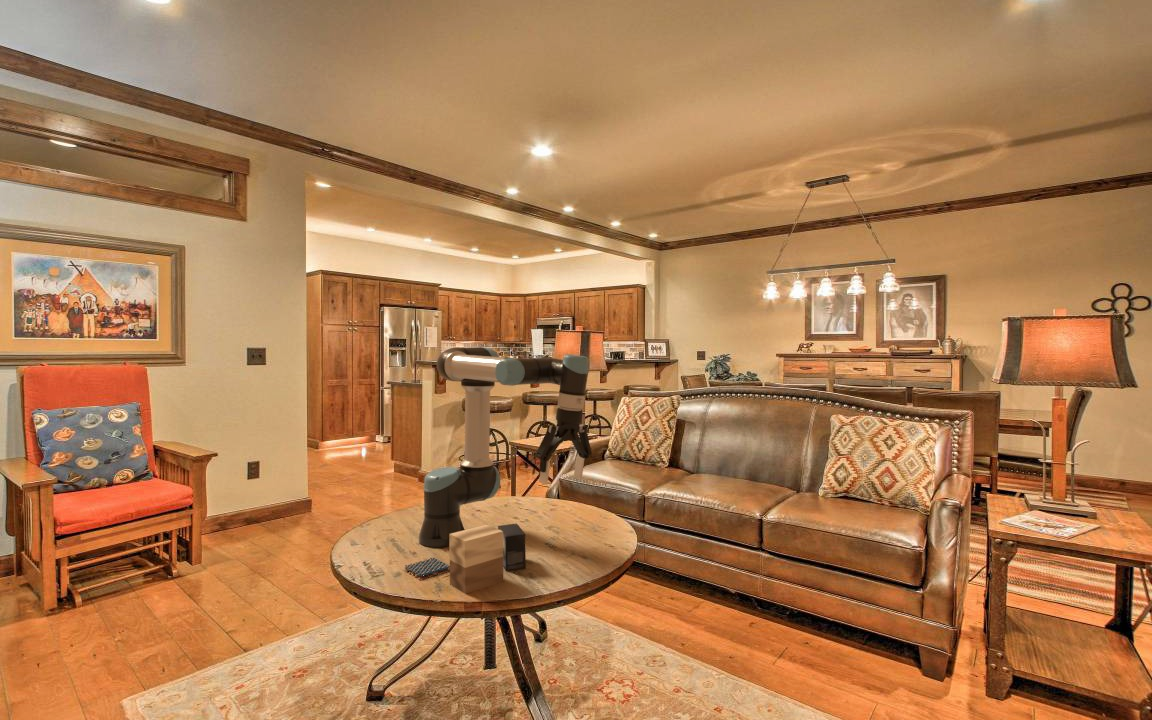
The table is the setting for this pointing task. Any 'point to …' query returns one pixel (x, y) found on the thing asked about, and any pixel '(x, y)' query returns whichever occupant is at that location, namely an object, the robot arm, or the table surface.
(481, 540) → the tower top
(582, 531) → the table surface
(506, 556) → the small box
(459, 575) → the tower base
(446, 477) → the robot arm
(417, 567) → the woven mat
